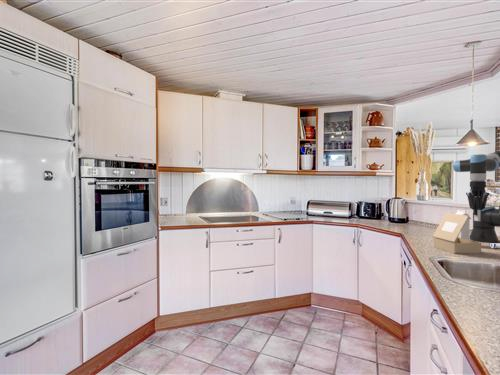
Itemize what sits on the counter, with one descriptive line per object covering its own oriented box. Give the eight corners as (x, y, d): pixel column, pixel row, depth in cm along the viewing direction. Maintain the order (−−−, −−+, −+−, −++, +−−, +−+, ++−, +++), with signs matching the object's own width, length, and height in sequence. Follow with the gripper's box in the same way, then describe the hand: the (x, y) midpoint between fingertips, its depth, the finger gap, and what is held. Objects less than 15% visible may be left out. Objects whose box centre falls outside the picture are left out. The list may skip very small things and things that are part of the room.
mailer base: (458, 246, 177) (458, 237, 177) (481, 253, 161) (481, 242, 161) (433, 247, 176) (433, 237, 175) (454, 253, 160) (454, 243, 159)
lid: (449, 215, 176) (445, 212, 176) (472, 218, 160) (468, 215, 159) (436, 239, 176) (432, 236, 176) (458, 245, 159) (453, 242, 159)
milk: (460, 243, 187) (461, 209, 186) (469, 245, 181) (469, 210, 180) (452, 243, 186) (453, 209, 185) (461, 245, 180) (461, 210, 179)
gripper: (482, 180, 173) (481, 219, 173) (462, 180, 172) (461, 220, 172) (494, 180, 165) (493, 221, 165) (473, 180, 164) (472, 221, 164)
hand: (477, 220), depth 169 cm, fingers closed
